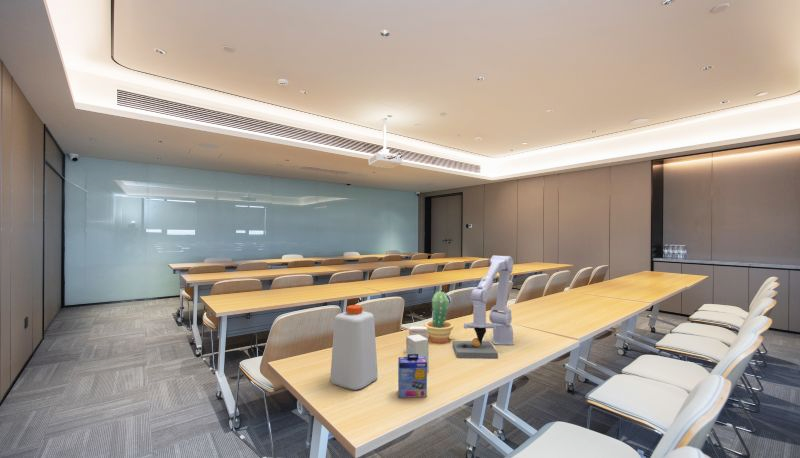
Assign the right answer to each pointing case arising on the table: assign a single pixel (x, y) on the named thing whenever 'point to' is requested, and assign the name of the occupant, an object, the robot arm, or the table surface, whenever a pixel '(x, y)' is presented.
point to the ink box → (418, 331)
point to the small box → (417, 346)
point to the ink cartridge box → (412, 376)
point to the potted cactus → (439, 318)
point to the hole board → (474, 350)
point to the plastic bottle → (354, 349)
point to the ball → (476, 342)
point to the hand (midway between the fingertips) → (479, 343)
